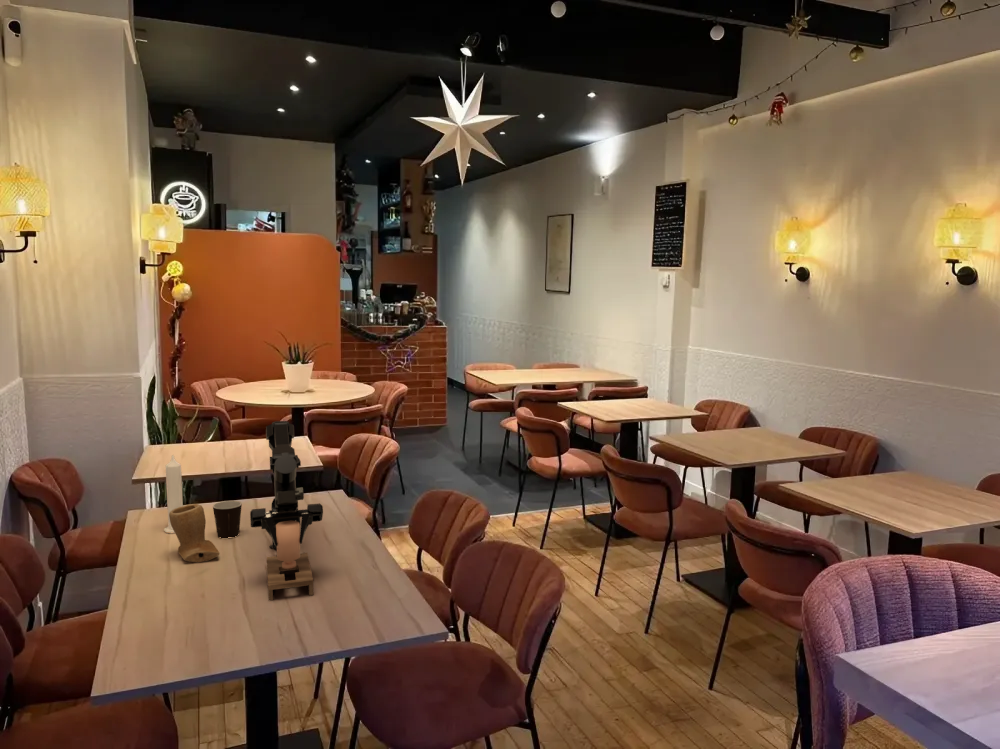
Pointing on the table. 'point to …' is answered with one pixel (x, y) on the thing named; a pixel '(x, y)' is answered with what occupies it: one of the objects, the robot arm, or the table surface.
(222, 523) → the coffee mug
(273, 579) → the walnut keyhole board
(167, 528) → the candle
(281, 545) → the terracotta peg
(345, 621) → the table surface
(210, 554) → the stone cup
